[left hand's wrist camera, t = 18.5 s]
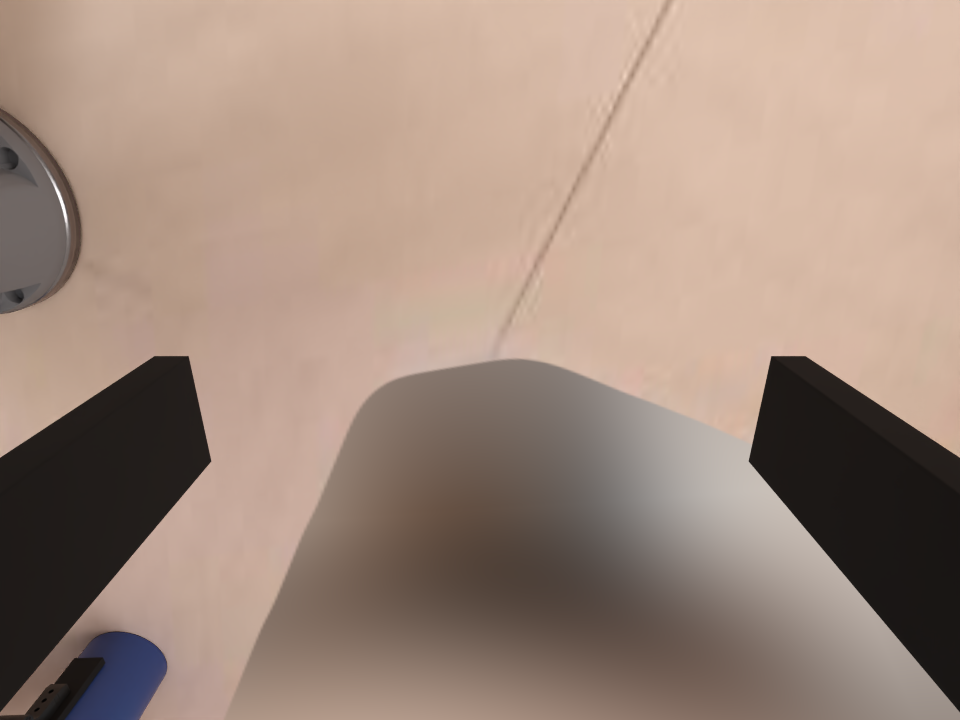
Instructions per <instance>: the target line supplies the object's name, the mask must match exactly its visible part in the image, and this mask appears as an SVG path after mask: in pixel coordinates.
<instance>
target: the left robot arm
mask: <svg viewBox="0 0 960 720" xmlns="http://www.w3.org/2000/svg"><path fill="white" fill-rule="evenodd" d="M80 243H81V227H80V219H79V213H78V209H77V205H76V202H75V199H74V196H73V193H72V190H71V188H70V186H69V184H68V181H67V179H66V178H65V176H64V174H63V172H62V170H61V169H60V167H59V165H58V164H57V162H56V161H55V159H54V158H53V157H52V155H51V154H50V153H49V151H48V150H47V149H46V148H45V146H44V145H43V144H42V143H41V142H40V141H39V140H38V139H37V138H36V137H35V136H34V135H33V134H32V133H31V132H30V131H29V130H28V129H27V128H26V127H25V126H24V125H23V124H21V123H20V122H19V121H18V120H16V119H15V118H14V117H12V116H11V115H10V114H8V113H7V112H5V111H3V110H2V109H0V314H4V313H10V312H14V311H17V310H21V309H24V308H26V307H29V306H32V305H35V304H37V303H39V302H42V301H44V300H45V299H47V298H49V297H51V296H52V295H53V294H55V293H56V292H57V291H58V290H59V289H60V288H61V287H62V286H63V285H64V284H65V283H66V281H67V280H68V279H69V277H70V275H71V274H72V272H73V270H74V267H75V265H76V262H77V259H78V256H79V250H80ZM210 462H211V458H210V453H209V449H208V444H207V439H206V435H205V430H204V425H203V421H202V416H201V412H200V407H199V402H198V398H197V393H196V389H195V384H194V379H193V375H192V370H191V365H190V361H189V356H154V357H153V358H151V359H150V360H148V361H147V362H145V363H144V364H142V365H141V366H139V367H137V368H136V369H134V370H133V371H131V372H130V373H128V374H127V375H125V376H124V377H122V378H121V379H119V380H118V381H116V382H115V383H113V384H112V385H110V386H109V387H107V388H106V389H104V390H103V391H101V392H99V393H98V394H96V395H95V396H93V397H92V398H90V399H89V400H87V401H86V402H84V403H83V404H81V405H80V406H78V407H77V408H75V409H74V410H72V411H71V412H69V413H68V414H66V415H65V416H63V417H61V418H60V419H58V420H57V421H55V422H54V423H52V424H51V425H49V426H48V427H46V428H45V429H43V430H42V431H40V432H39V433H37V434H36V435H34V436H33V437H31V438H30V439H28V440H27V441H25V442H23V443H22V444H20V445H19V446H17V447H16V448H14V449H13V450H11V451H10V452H8V453H7V454H5V455H4V456H2V457H1V458H0V712H1V710H2V709H3V708H4V707H5V706H6V704H7V703H8V702H9V701H10V700H11V699H12V697H13V696H14V695H15V694H16V693H17V691H18V690H19V689H20V688H21V687H22V685H23V684H24V683H25V682H26V681H27V680H28V678H29V677H30V676H31V675H32V674H33V672H34V671H35V670H36V669H37V668H38V666H39V665H40V664H41V663H42V662H43V661H44V659H45V658H46V657H47V656H48V655H49V653H50V652H51V651H52V650H53V649H54V647H55V646H56V645H57V644H58V643H59V642H60V640H61V639H62V638H63V637H64V636H65V634H66V633H67V632H68V631H69V630H70V628H71V627H72V626H73V625H74V624H75V623H76V621H77V620H78V619H79V618H80V617H81V615H82V614H83V613H84V612H85V611H86V609H87V608H88V607H89V606H90V605H91V604H92V602H93V601H94V600H95V599H96V598H97V596H98V595H99V594H100V593H101V592H102V590H103V589H104V588H105V587H106V586H107V585H108V583H109V582H110V581H111V580H112V579H113V577H114V576H115V575H116V574H117V573H118V571H119V570H120V569H121V568H122V567H123V566H124V564H125V563H126V562H127V561H128V560H129V558H130V557H131V556H132V555H133V554H134V552H135V551H136V550H137V549H138V548H139V547H140V545H141V544H142V543H143V542H144V541H145V539H146V538H147V537H148V536H149V535H150V533H151V532H152V531H153V530H154V529H155V528H156V526H157V525H158V524H159V523H160V522H161V520H162V519H163V518H164V517H165V516H166V514H167V513H168V512H169V511H170V510H171V509H172V507H173V506H174V505H175V504H176V503H177V501H178V500H179V499H180V498H181V497H182V495H183V494H184V493H185V492H186V491H187V490H188V488H189V487H190V486H191V485H192V484H193V482H194V481H195V480H196V479H197V478H198V476H199V475H200V474H201V473H202V472H203V471H204V469H205V468H206V467H207V466H208V465H209V463H210ZM749 462H750V463H751V465H752V466H753V467H754V468H755V469H756V471H757V472H758V473H759V474H760V475H761V476H762V478H763V479H764V480H765V481H766V482H767V484H768V485H769V486H770V487H771V488H772V490H773V491H774V492H775V493H776V494H777V495H778V497H779V498H780V499H781V500H782V501H783V503H784V504H785V505H786V506H787V507H788V509H789V510H790V511H791V512H792V513H793V514H794V516H795V517H796V518H797V519H798V520H799V522H800V523H801V524H802V525H803V526H804V528H805V529H806V530H807V531H808V532H809V533H810V535H811V536H812V537H813V538H814V539H815V541H816V542H817V543H818V544H819V545H820V546H821V548H822V549H823V550H824V551H825V552H826V554H827V555H828V556H829V557H830V558H831V560H832V561H833V562H834V563H835V564H836V566H837V567H838V568H839V569H840V570H841V571H842V573H843V574H844V575H845V576H846V577H847V579H848V580H849V581H850V582H851V583H852V585H853V586H854V587H855V588H856V589H857V590H858V592H859V593H860V594H861V595H862V596H863V598H864V599H865V600H866V601H867V602H868V603H869V605H870V606H871V607H872V608H873V609H874V611H875V612H876V613H877V614H878V615H879V617H880V618H881V619H882V620H883V621H884V623H885V624H886V625H887V626H888V627H889V628H890V630H891V631H892V632H893V633H894V634H895V636H896V637H897V638H898V639H899V640H900V642H901V643H902V644H903V645H904V646H905V647H906V649H907V650H908V651H909V652H910V653H911V654H912V656H913V657H914V658H915V659H916V661H917V662H918V663H919V664H920V665H921V666H922V668H923V669H924V670H925V671H926V672H927V673H928V675H929V676H930V677H931V678H932V679H933V681H934V682H935V683H936V684H937V685H938V687H939V688H940V689H941V690H942V691H943V693H944V694H945V695H946V696H947V697H948V699H949V700H950V701H951V702H952V703H953V704H954V706H955V707H956V708H957V709H958V710H959V712H960V458H959V457H958V456H956V455H955V454H953V453H952V452H950V451H949V450H947V449H946V448H944V447H943V446H941V445H940V444H938V443H937V442H935V441H933V440H932V439H930V438H929V437H927V436H926V435H924V434H923V433H921V432H920V431H918V430H917V429H915V428H914V427H912V426H911V425H909V424H908V423H906V422H905V421H903V420H902V419H900V418H899V417H897V416H895V415H894V414H892V413H891V412H889V411H888V410H886V409H885V408H883V407H882V406H880V405H879V404H877V403H876V402H874V401H873V400H871V399H870V398H868V397H867V396H865V395H864V394H862V393H861V392H859V391H857V390H856V389H854V388H853V387H851V386H850V385H848V384H847V383H845V382H844V381H842V380H841V379H839V378H838V377H836V376H835V375H833V374H832V373H830V372H829V371H827V370H826V369H824V368H823V367H821V366H819V365H818V364H816V363H815V362H813V361H812V360H810V359H809V358H807V357H806V356H771V361H770V365H769V370H768V375H767V379H766V384H765V388H764V393H763V398H762V402H761V407H760V412H759V416H758V421H757V425H756V430H755V435H754V439H753V444H752V449H751V453H750V458H749Z"/></svg>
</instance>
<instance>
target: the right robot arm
mask: <svg viewBox="0 0 960 720" xmlns="http://www.w3.org/2000/svg"><path fill="white" fill-rule="evenodd" d="M104 664H105V661H104V658H103V657H93V658H74V659H73V661H72V662H71V663H70V665H69V666H68V667H67V668H66V670H65V671H64V672H63V673H62V675H61V676H60V677H59V679H58V680H57V681H56V682H55V684H51V685H49V686H48V687H47V688H46V689H45V690H44V691H43V693H42V694H41V695H40V696H39V698H38V699H37V700H36V701H35V703H34V704H33V705H32V706H31V708H30V709H29V710H28V711H27V713H26V714H25V715H7V716H0V720H65V719H66V717H67V716H68V714H69V713H70V712H71V710H72V709H73V707H74V706H75V705H76V703H77V702H78V700H79V699H80V698H81V696H82V695H83V694H84V692H85V691H86V689H87V688H88V687H89V685H90V684H91V682H92V681H93V680H94V678H95V677H96V675H97V674H98V673H99V671H100V670H101V668H102V667H103V666H104Z"/></svg>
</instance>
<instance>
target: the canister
mask: <svg viewBox="0 0 960 720" xmlns="http://www.w3.org/2000/svg"><path fill="white" fill-rule="evenodd" d="M93 657H103V658H104V661H105V664H104V666H103V667H102V668H101V670H100V671H99V673H98V674H97V675H96V677H95V678H94V680H93V681H92V682H91V684H90V685H89V687H88V688H87V689H86V691H85V692H84V694H83V695H82V696H81V698H80V699H79V700H78V702H77V703H76V705H75V706H74V707H73V709H72V710H71V712H70V713H69V714H68V716H67V717H66V719H65V720H139V719H140V717H141V715H142V714H143V712H144V710H145V709H146V707H147V705H148V703H149V702H150V700H151V698H152V697H153V695H154V693H155V692H156V690H157V688H158V687H159V685H160V683H161V681H162V680H163V678H164V676H165V674H166V671H167V662H166V659H165V657H164V655H163V654H162V652H161V651H160V650H159V649H158V648H157V647H156V646H155V645H154V644H153V643H151V642H150V641H148V640H146V639H144V638H142V637H140V636H137V635H134V634H130V633H125V632H110V633H105V634H102V635H99V636H97V637H96V638H94V639H93V640H92V641H91V642H90V643H89V644H88V645H87V647H86V648H85V649H84V651H83V652H82V653H81V654H80V656H79V657H78V658H93Z"/></svg>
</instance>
